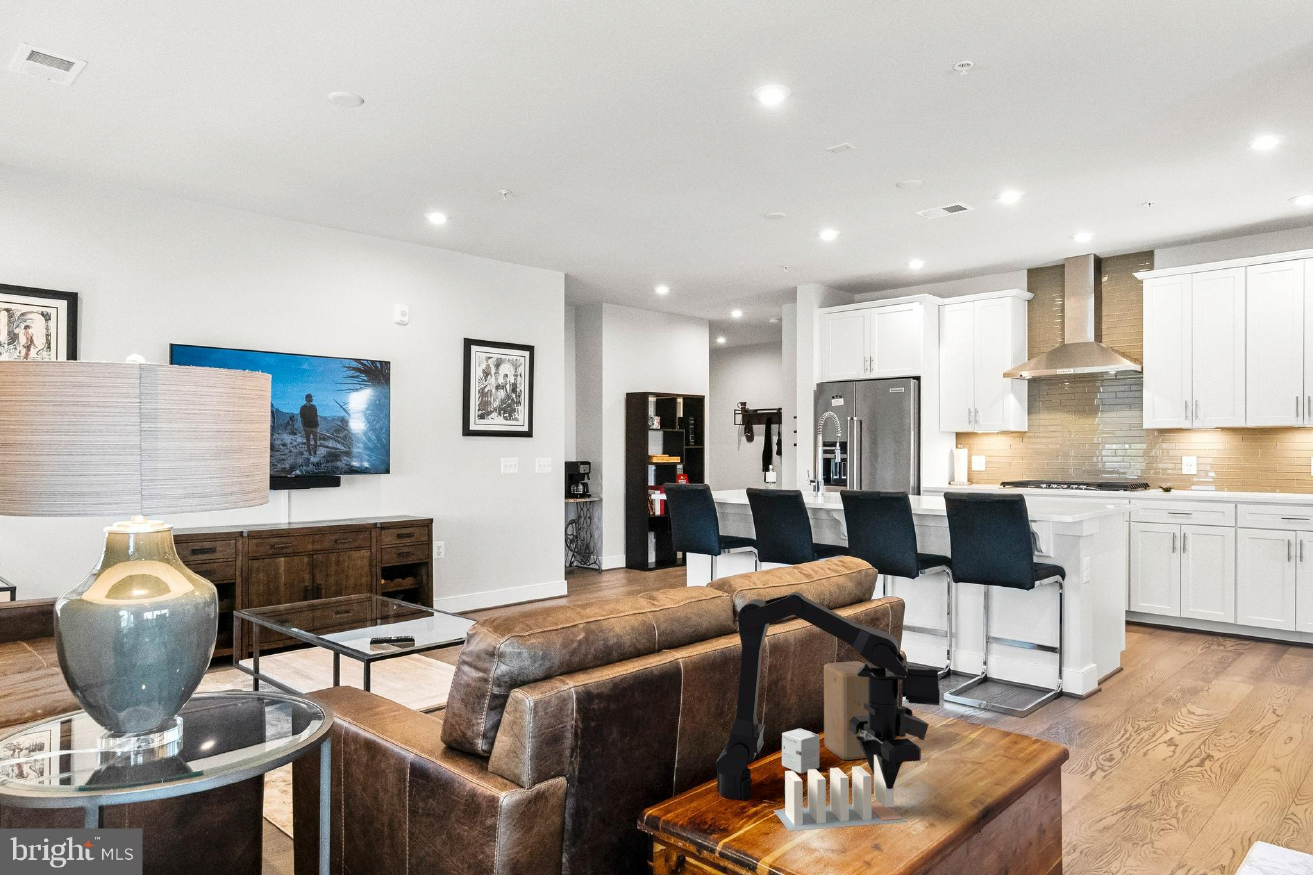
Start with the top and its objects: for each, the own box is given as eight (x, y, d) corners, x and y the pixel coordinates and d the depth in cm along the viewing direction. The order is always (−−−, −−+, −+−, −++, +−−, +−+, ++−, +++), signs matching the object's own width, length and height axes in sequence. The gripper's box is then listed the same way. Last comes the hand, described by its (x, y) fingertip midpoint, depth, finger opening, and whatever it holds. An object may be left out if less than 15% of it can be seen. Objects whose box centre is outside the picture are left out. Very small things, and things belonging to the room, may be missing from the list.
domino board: (789, 836, 148) (789, 829, 148) (773, 815, 156) (773, 809, 156) (907, 826, 152) (907, 820, 152) (885, 806, 160) (885, 800, 161)
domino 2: (817, 823, 151) (817, 779, 151) (807, 812, 156) (807, 769, 156) (825, 822, 151) (825, 779, 151) (815, 811, 156) (815, 769, 156)
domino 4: (863, 819, 152) (863, 776, 152) (852, 808, 157) (852, 766, 157) (871, 819, 153) (871, 775, 153) (860, 808, 157) (859, 766, 158)
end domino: (885, 807, 153) (885, 764, 153) (874, 796, 158) (874, 754, 158) (893, 806, 153) (893, 763, 154) (881, 796, 158) (881, 754, 159)
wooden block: (843, 762, 184) (842, 672, 185) (822, 747, 194) (822, 662, 195) (882, 757, 187) (881, 669, 188) (860, 743, 197) (859, 659, 197)
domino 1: (794, 825, 150) (794, 781, 150) (785, 813, 155) (785, 771, 155) (802, 824, 150) (802, 780, 150) (793, 813, 155) (793, 770, 155)
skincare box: (781, 765, 182) (781, 732, 182) (799, 759, 186) (799, 727, 186) (801, 774, 177) (801, 739, 178) (820, 767, 181) (820, 734, 181)
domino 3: (840, 821, 151) (840, 777, 152) (830, 810, 156) (830, 768, 157) (848, 820, 152) (848, 777, 152) (838, 809, 157) (837, 767, 157)
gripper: (947, 712, 149) (948, 799, 148) (899, 685, 167) (899, 762, 166) (890, 716, 147) (890, 804, 146) (848, 687, 165) (848, 766, 164)
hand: (883, 782), depth 156 cm, fingers closed on end domino, 5 cm apart
